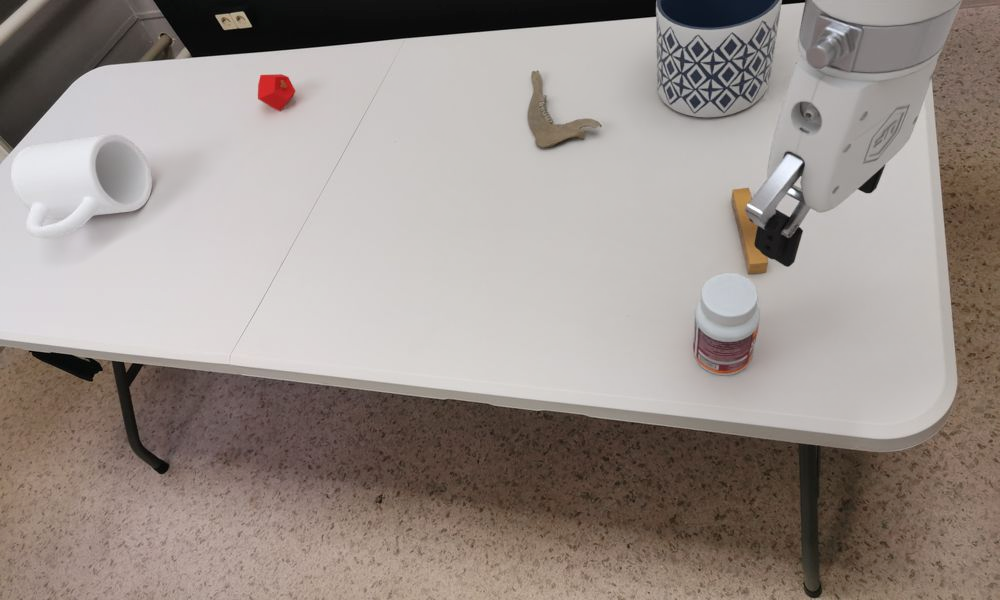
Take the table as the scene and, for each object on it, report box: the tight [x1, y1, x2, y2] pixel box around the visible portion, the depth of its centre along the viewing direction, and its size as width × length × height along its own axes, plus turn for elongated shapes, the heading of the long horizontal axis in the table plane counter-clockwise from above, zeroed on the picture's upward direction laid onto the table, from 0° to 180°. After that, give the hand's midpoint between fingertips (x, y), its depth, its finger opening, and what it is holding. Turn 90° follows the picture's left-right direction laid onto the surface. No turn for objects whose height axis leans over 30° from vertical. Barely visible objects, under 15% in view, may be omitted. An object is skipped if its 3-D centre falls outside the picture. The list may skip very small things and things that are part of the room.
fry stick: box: [730, 187, 769, 275], centre depth 75 cm, size 12×2×2 cm, turn 178°
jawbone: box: [527, 69, 602, 148], centre depth 96 cm, size 9×20×2 cm, turn 28°
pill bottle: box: [692, 272, 761, 376], centre depth 63 cm, size 6×6×11 cm
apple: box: [257, 73, 296, 112], centre depth 113 cm, size 7×7×8 cm
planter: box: [655, 0, 783, 118], centre depth 87 cm, size 16×16×14 cm
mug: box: [10, 133, 153, 240], centre depth 103 cm, size 19×16×13 cm
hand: (814, 218), depth 48 cm, fingers open, 9 cm apart
